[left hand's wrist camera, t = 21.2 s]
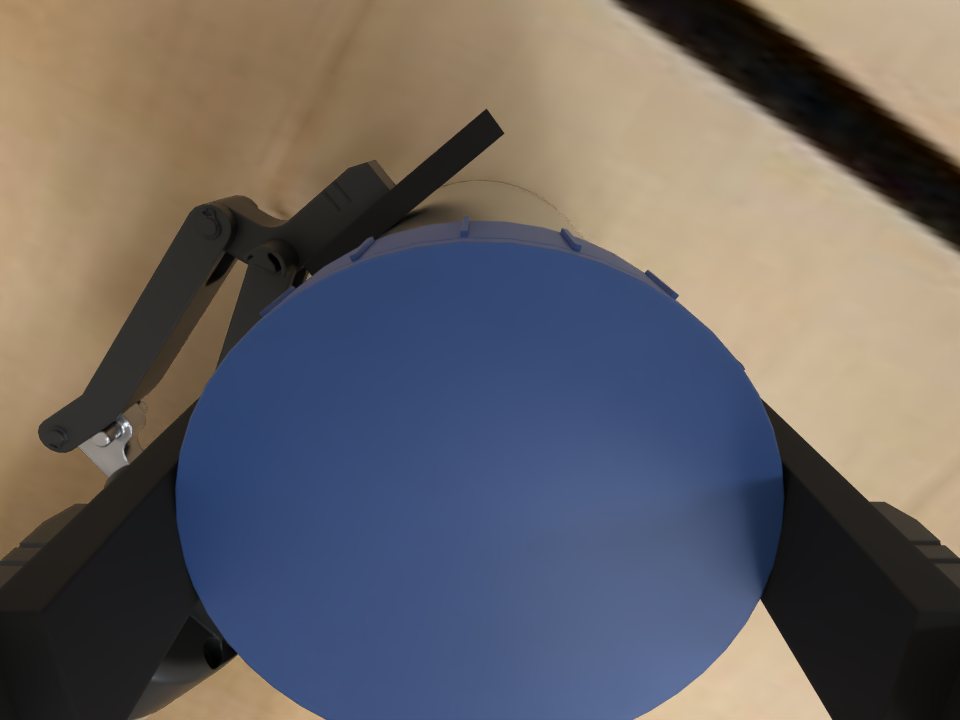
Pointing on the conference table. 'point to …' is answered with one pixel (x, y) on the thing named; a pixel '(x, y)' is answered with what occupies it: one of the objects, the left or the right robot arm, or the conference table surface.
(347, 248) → the right robot arm
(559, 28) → the conference table surface
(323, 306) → the lid
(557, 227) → the jar
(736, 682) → the conference table surface
